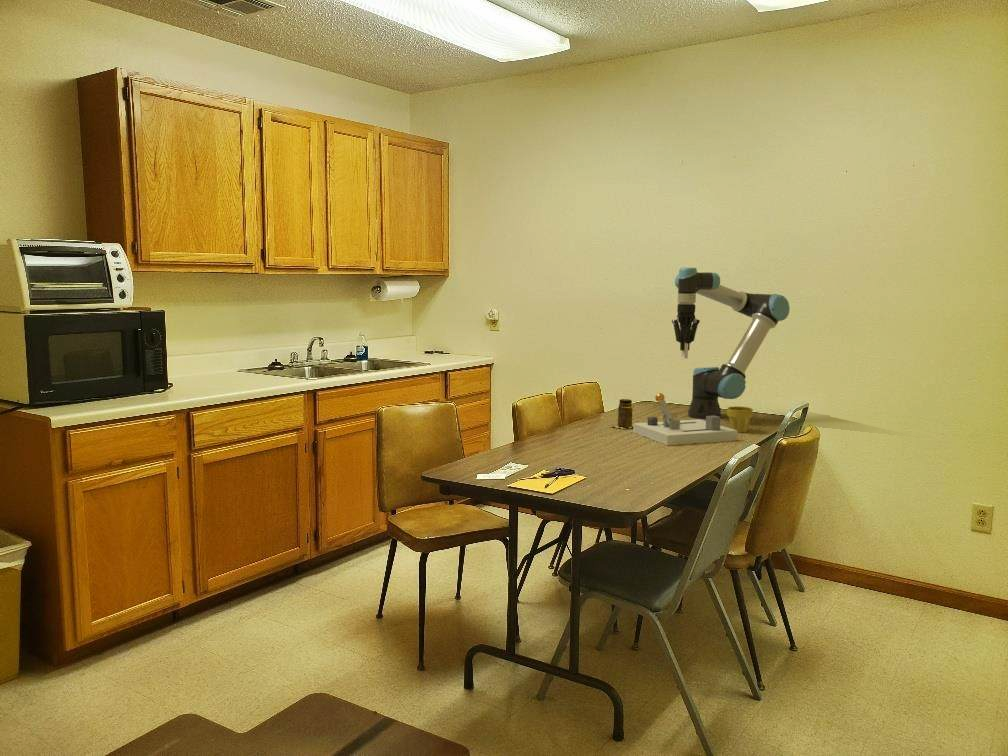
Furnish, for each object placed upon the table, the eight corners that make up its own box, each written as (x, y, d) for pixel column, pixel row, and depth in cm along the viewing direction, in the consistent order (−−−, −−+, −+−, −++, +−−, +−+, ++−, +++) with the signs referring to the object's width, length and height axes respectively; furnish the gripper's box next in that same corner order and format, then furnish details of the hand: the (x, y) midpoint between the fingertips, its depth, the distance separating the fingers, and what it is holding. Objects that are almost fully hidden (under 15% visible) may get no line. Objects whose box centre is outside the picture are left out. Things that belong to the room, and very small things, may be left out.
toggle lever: (672, 421, 313) (659, 390, 309) (677, 422, 309) (664, 392, 306) (665, 425, 312) (652, 395, 308) (670, 427, 309) (657, 396, 305)
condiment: (636, 427, 332) (637, 400, 331) (624, 430, 326) (624, 402, 325) (622, 425, 337) (623, 398, 336) (610, 427, 332) (611, 400, 330)
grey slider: (714, 427, 311) (714, 415, 310) (720, 429, 307) (720, 417, 306) (705, 428, 309) (706, 415, 309) (711, 430, 306) (712, 417, 305)
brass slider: (671, 422, 321) (671, 410, 321) (676, 424, 317) (677, 412, 317) (663, 423, 320) (663, 411, 319) (668, 424, 316) (668, 412, 315)
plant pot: (726, 432, 322) (727, 409, 321) (725, 428, 332) (726, 405, 331) (752, 434, 320) (753, 410, 319) (750, 429, 330) (751, 406, 329)
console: (698, 428, 331) (699, 411, 330) (736, 440, 307) (737, 421, 306) (633, 432, 320) (633, 415, 319) (667, 445, 296) (667, 426, 295)
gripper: (678, 304, 327) (676, 359, 330) (704, 303, 332) (702, 358, 335) (668, 303, 334) (666, 357, 337) (694, 303, 339) (692, 356, 342)
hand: (684, 358), depth 336 cm, fingers closed
